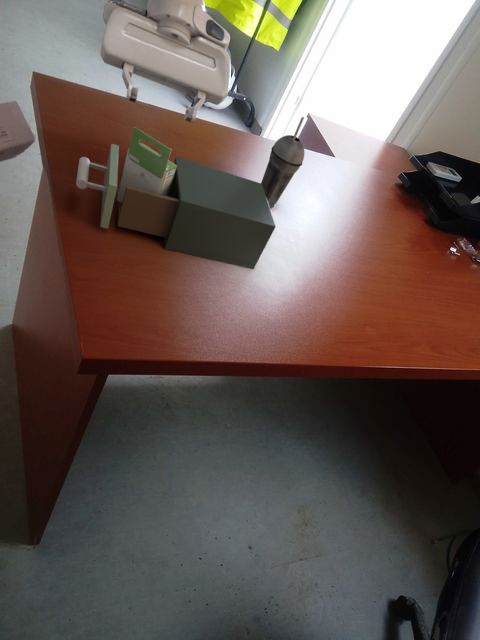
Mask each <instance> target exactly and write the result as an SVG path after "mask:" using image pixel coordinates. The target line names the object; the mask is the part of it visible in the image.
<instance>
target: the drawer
mask: <svg viewBox="0 0 480 640" xmlns="http://www.w3.org/2000/svg"><path fill="white" fill-rule="evenodd" d="M109 147H110V148H109V153H108V158H107V163H106V166H105V165H102V164H98V163H94V162H91V161H90V159H89V158H88V157H86V156H81V157H80V158H79V160H78V167H77V175H76V182H75V185H76V187H77V188H78V189H80V190H85V189H87V188H90V189H94V190H97V191H100V192H102V197H101V210H100V225H99V227H100V228H103V229H109V226H110V221H111V216H112V212H113V207H114V203H115V198H116V193H117V188H119V187H120V185H119V186H118V176H119V175H118V172H119V148H120V147H119V145H117V144H115V143H111V144H110V146H109ZM126 156H127V153H126V155H125V157H126ZM124 159H125V160H124V163H123V166H124V165H125V161H126V158H124ZM90 168H92V169H95V170H97V171H102V172H105V174H104V178H103V183H102V185H101V184H98V183H95V182H90V181H89V175H90ZM123 169H124V167H123V168H122V170H123ZM122 174H123V171H122V172H121V175H122ZM121 178H122V176H120V179H121ZM120 183H121V180H120V181H119V184H120ZM178 204H179V196H178V187H177V178H176V171H175V174H174V177H173V180H172V183H171V186H170V189H169V192H168V195H167V196H164V195H161V194H157V193H154V192H150V191H146V190H143V189H139V188H136V187H132V186H128V185H126V189H125V194H124V198H123V202H122V203H120V202H119V201H117V223H116V224H117V225H116V226H117V227H118V228H119V227H120V228H124V229H128V230H131V231H135V232H140V233H145V234H149V235H153V236H157V237H160V238H161V237H162V238H164V237H165V238H167V237H168V234H169V231H170V228H171V225H172V222H173V219H174V216H175V213H176V210H177V207H178Z"/></svg>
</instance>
